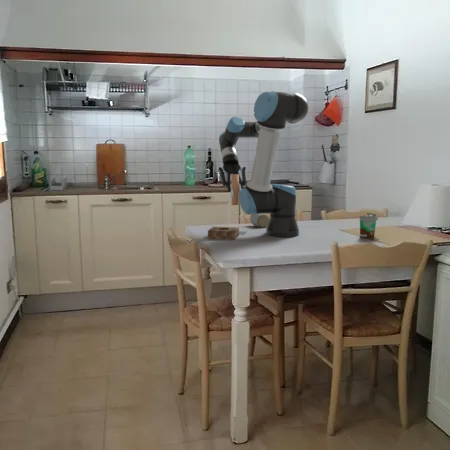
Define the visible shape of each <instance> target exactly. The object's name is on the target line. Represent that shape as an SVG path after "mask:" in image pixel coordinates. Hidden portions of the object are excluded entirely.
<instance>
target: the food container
mask: <svg viewBox="0 0 450 450" xmlns="http://www.w3.org/2000/svg"><path fill="white" fill-rule="evenodd" d="M377 221H378V215H377V214H376V213H373V212H372V213H371V212H367V214H366V215H361V216H359V238H360V239H373V238H375V234H376V227H377V226H376V225H377Z"/></svg>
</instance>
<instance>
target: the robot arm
mask: <svg viewBox="0 0 450 450" xmlns="http://www.w3.org/2000/svg"><path fill="white" fill-rule="evenodd" d="M253 112H254V114H253V115H254V119H255V120H256V121H244V119H243V118H242V117H239V116H232V117H231V118H230V119H229V121H228V123H227V125H226V128H225V131H223V132H222V133H221V134H219V137H218V144H219V147H220V153H221V158H222V160H221V161H222V167H221V166H219V167H218V169H217V171H218V172H217V173H219V176H220V179H221V184H222V186H223V187H226V188H227V192H230V198H231V199H232V198H233V196H234V193H233V188H232V184H231V175H232V174H238V175H239V205H240V208H241V210H242V211H243V212H244V214H247V215H252V214H254V215H256V214H269V216H270V217H269V223H268V225H267V226H266V230H265V234H266V235H267V236H269V237H275V238H292V237H293V238H294V237H297V236H299V235H300V229H299V226H298V222H297V219H296V211H297V210H296V209H297V208H296V207H297V206H296V205H297V191H296V190H297V189H296V187H295V186H294V185H287V184H277V183H271V181H272V180H271V179H272V175H273V171H274V167H275V166H274V165H275V160H276V155H277V151H278V150H277V149H278V147H279V146H278V144H279V141H280V136H281V135H280V134H281V132H282V131H283V130H284V129H286V125H289V124H296V123H299V122H301V121H302V120H304V119H305V118H306V117H307V114H308V113H309V103H308V101H307V99H306V97H305V96H303V95H302V94H301V93H297V92H287V91H286V92H285V91H283V92H282V91H274V90H273V91H272V90H271V91H264V92H262V93H260V94H259V95H258V96H257V98H256V100H255V103H254V106H253ZM241 138H242V139H245V138H246V139H248V138H250V139H251V138H254V139H256V138H257V143H256V149H255V155H254V159H253V160H254V161H253V166H252V172H251V177H250V180H248V181H247V180H246V179H247V177H246V170H247V168H246V166H243V167H242V166H241V165H240V164H239V163H240V162H239V157H238V152H237V147H236V145H237V143H238V140H239V139H241ZM239 171H240V172H241V175H240V172H239ZM224 172H225V173H226V174H227V175H226V177H225V173H224Z"/></svg>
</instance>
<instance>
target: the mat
mask: <svg viewBox="0 0 450 450" xmlns="http://www.w3.org/2000/svg"><path fill="white" fill-rule="evenodd" d="M247 233H248V231H240V230H239V236H245V235H246V234H247Z"/></svg>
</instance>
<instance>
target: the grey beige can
mask: <svg viewBox="0 0 450 450" xmlns="http://www.w3.org/2000/svg"><path fill="white" fill-rule="evenodd" d="M249 219H250V223H251V224H252V226H255V227H258V228H267V226H268V223H269V220H270V217H269V215H267V213H264V214H256V215H254V214H250V217H249Z"/></svg>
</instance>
